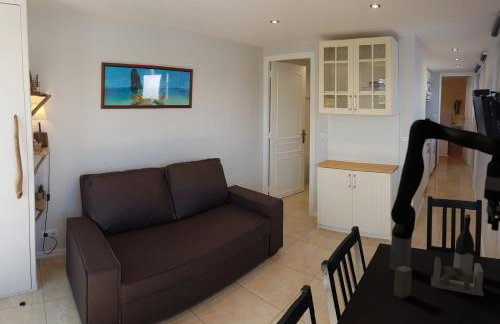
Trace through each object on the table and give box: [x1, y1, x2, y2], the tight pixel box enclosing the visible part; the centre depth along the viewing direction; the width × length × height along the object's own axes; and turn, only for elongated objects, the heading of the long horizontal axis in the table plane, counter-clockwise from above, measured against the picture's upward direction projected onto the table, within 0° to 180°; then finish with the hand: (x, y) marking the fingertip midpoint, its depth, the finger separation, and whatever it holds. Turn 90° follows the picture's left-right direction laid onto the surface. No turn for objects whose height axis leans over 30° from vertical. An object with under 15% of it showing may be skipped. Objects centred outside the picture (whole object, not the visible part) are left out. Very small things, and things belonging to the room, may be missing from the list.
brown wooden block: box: [440, 265, 474, 284], centre depth 161 cm, size 12×5×4 cm, turn 66°
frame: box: [430, 256, 485, 297], centre depth 161 cm, size 20×9×11 cm, turn 65°
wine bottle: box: [453, 213, 475, 271], centre depth 172 cm, size 8×8×30 cm
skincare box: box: [393, 265, 413, 299], centre depth 154 cm, size 6×4×12 cm
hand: (492, 227), depth 144 cm, fingers open, 8 cm apart
